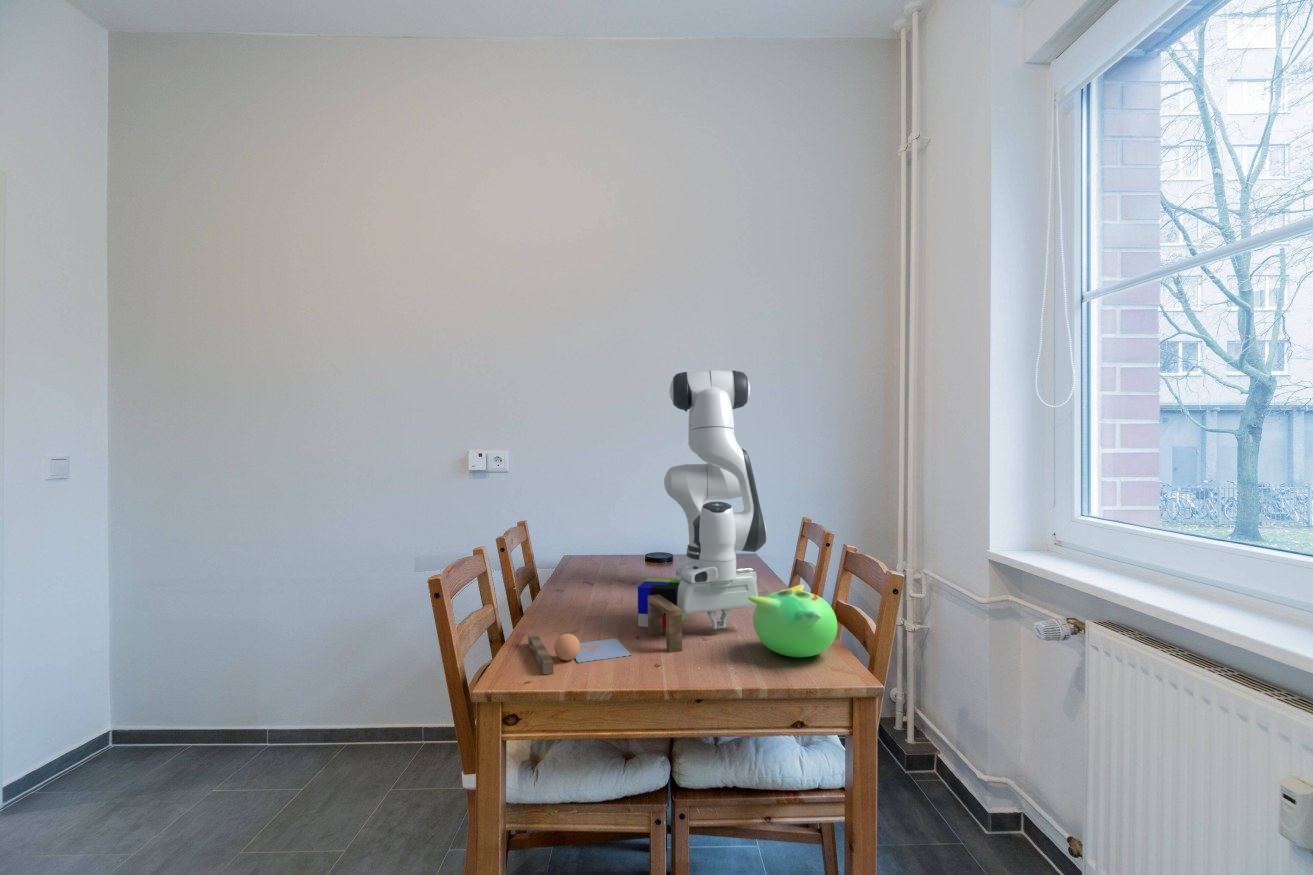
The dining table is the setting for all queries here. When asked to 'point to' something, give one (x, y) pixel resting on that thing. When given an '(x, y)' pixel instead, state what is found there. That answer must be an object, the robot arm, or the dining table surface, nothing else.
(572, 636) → the ball
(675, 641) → the bridge
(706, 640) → the dining table surface
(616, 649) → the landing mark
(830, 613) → the round green monster toy
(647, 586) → the puzzle toy
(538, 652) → the stopper
